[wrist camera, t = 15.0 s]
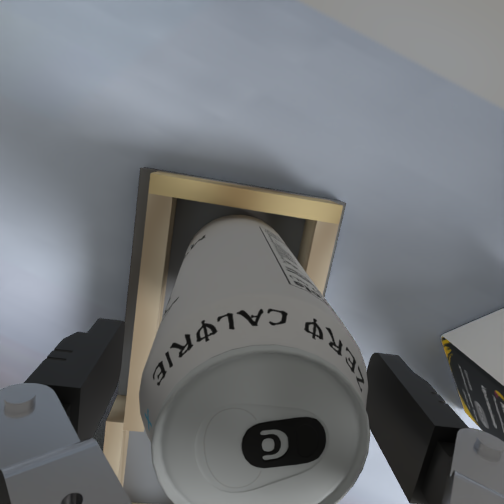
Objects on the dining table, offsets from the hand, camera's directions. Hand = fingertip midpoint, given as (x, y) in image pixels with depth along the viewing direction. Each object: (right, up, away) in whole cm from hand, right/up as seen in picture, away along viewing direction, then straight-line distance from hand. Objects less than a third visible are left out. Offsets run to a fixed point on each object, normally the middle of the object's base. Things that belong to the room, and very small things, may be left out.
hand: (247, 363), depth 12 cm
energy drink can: (-1, +3, +11) cm, 11 cm away
